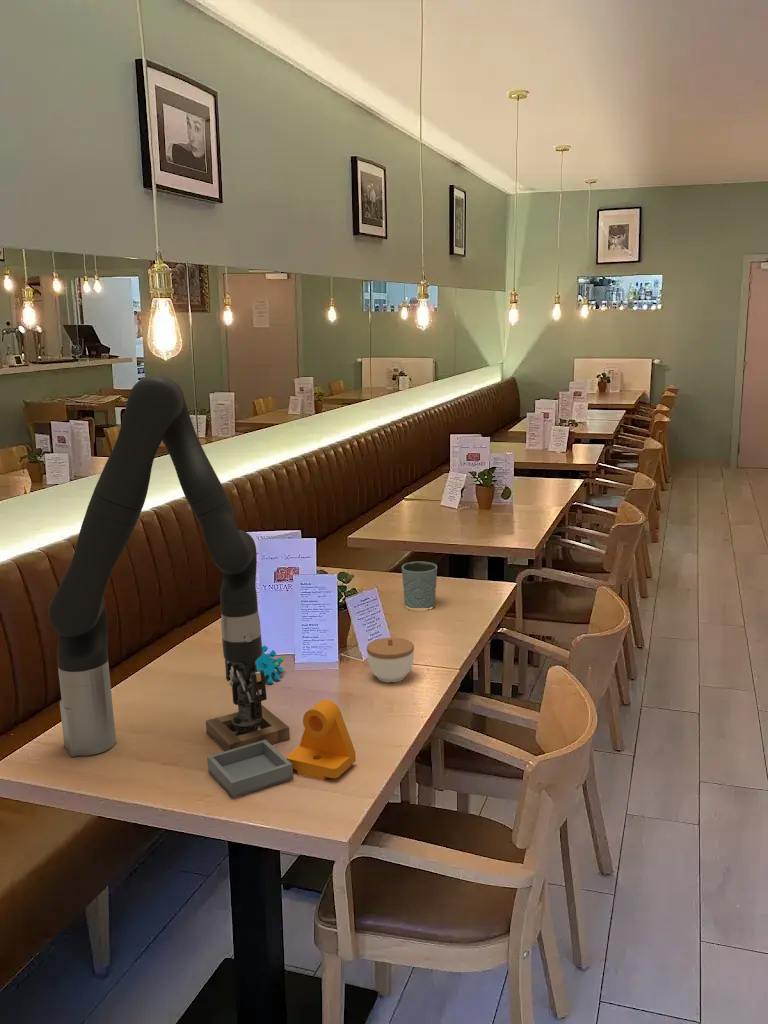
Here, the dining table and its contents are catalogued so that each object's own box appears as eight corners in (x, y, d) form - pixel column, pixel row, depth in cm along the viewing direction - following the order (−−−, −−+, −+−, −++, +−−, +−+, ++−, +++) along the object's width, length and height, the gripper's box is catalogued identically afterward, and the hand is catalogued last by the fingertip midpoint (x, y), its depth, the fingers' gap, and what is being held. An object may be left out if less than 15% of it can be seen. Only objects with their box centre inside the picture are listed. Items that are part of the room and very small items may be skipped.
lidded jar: (361, 684, 201) (359, 644, 199) (376, 666, 211) (375, 628, 209) (406, 689, 197) (405, 649, 195) (420, 671, 207) (419, 632, 205)
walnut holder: (230, 756, 169) (229, 744, 168) (206, 732, 179) (205, 720, 179) (289, 739, 175) (289, 727, 175) (263, 716, 186) (262, 705, 185)
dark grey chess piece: (267, 730, 179) (263, 674, 177) (255, 744, 174) (251, 686, 171) (240, 727, 181) (236, 672, 178) (227, 741, 175) (223, 684, 173)
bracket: (285, 771, 163) (281, 710, 160) (306, 753, 169) (303, 695, 167) (336, 783, 158) (333, 721, 156) (355, 765, 164) (353, 704, 162)
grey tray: (232, 798, 154) (231, 783, 153) (208, 771, 164) (207, 756, 163) (293, 779, 160) (292, 764, 159) (266, 754, 169) (265, 739, 169)
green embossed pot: (421, 599, 260) (420, 559, 257) (445, 606, 252) (444, 566, 250) (395, 606, 254) (394, 566, 251) (418, 615, 246) (417, 573, 243)
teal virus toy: (254, 684, 198) (238, 646, 202) (242, 697, 201) (227, 659, 206) (294, 677, 205) (278, 640, 210) (282, 689, 209) (267, 652, 213)
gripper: (209, 627, 177) (216, 703, 180) (238, 648, 165) (244, 729, 168) (244, 619, 181) (250, 694, 184) (274, 639, 169) (280, 718, 172)
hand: (247, 710), depth 176 cm, fingers open, 8 cm apart
